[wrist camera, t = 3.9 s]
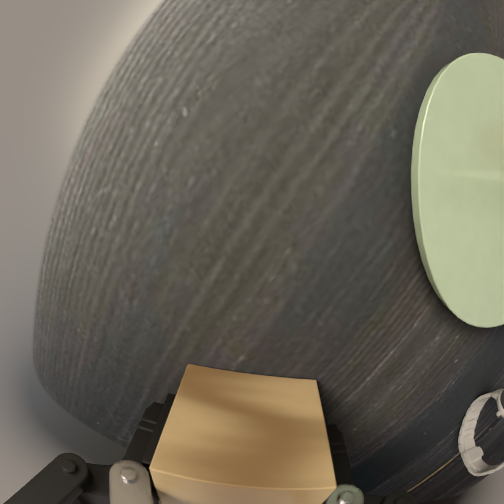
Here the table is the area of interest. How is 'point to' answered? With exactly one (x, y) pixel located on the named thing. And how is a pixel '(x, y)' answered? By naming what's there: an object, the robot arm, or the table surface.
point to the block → (243, 441)
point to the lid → (462, 187)
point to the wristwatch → (465, 439)
